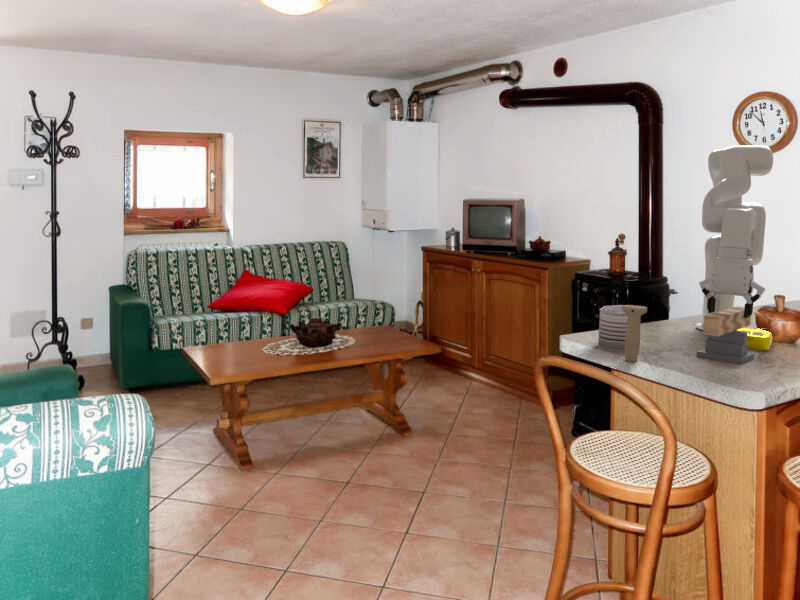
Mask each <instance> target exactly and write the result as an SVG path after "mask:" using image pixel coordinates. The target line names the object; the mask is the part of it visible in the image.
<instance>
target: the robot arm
mask: <svg viewBox="0 0 800 600" xmlns="http://www.w3.org/2000/svg"><path fill="white" fill-rule="evenodd" d="M707 166H708V171H709V175H710V178H711V182H712V184H713V185H712V186H713V187H712V188H710V189H709V191H708V192H706V194H705V196H704V199H703V202H702V209H701V211H702V212H701V225H702V228H703V230H705V232H708V233H713V234H714V233H715V234H717V233H718V234H720V235H714V236H711V237H709V238H708V239H706V241H705V244H704V256H705V257H704V259H705V273H704V274H705V275H704V279H703V280H702V281H699V286H700V289H701V292H702V293H703V300H702V309H701V310H702V311H701V322H698V323H696V324H695V325H696V326H695V328H696V329H698V330H701V331H703V326H704V316H706V315H709V314H713V313H716V312H720V311H723V310H727V309H730V308H734V307H735V299H736V298H735V296H739V297H740V296H741V297H743V299H744V300H745V302H746V303H745V304H744V306H743V307H744V318H748V317H750V315H751V316H752V315H753V312H754V311H753V309H754V303H755V302H757V301H758V300H759V299H761V298H762V296H763V294H764V293H765V292H766V288H765V287H763V286H761V285H760V284H759V283H757V282H756V281H755V280H754V277H755V276H754V274H755V273H754V272H755V271H754V266H757V265H759V264H760V263H761V262H762V259H763V253H764V244H765V234H766V233H765V231H766V224H767V223H766V220H767V211H766V209H765V206H763V205H762V204H760V203H757V202H743V200H742V199H743V196H744V195H746V194H747V193H748V192H749V191H750V189H751V187H752V178H751V177H763V176H766V175H768V174H770V172H771V171H772V169H773V166H774V153H773V150H772V149H771V148H770V147H769V146H768V145H767V146H766V145H733V146H729V147H726V148H722V149H721V148H720V149H715V150H712V151H711V152H710V153H709V155H708V159H707ZM754 290H756V293H755V294H754V295H752V294H753V291H754Z"/></svg>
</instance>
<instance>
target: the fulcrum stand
mask: <svg viewBox="0 0 800 600" xmlns="http://www.w3.org/2000/svg"><path fill="white" fill-rule="evenodd" d="M747 334H748V332H745V331H738V330H735V331H732V332H729V333H727V334H724V335H721V336H711V335H706V336H707V337H706V339H705V345H704V348H702V349H700V350H697V351H696V358H697V357H698V358H701V359H702V358H704V359H709V360H715V361H720V362H727V363H732V364H737V365H743V364H745V363H747V362H749V361H752V360H754V359H755V353H754V352H748V344H747Z"/></svg>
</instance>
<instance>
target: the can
mask: <svg viewBox="0 0 800 600" xmlns="http://www.w3.org/2000/svg"><path fill="white" fill-rule="evenodd" d="M623 305H624V304H614V305H604V306H603V307H601V308H599V309H598V310H599V325H598V326H599V327H598V338H597V341H598V342H597V346H598V347H599V349H602V348H603V349H602V350H605V349H606V351H610V352H624V353H625V335H626V328H627V319H628V316H627V314H626V313H625V312H623V311H622V306H623Z"/></svg>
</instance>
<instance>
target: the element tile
mask: <svg viewBox="0 0 800 600" xmlns="http://www.w3.org/2000/svg"><path fill="white" fill-rule="evenodd" d="M762 329H763V328H761V329H760V328H758V327H751V326H747V327H744V328H741V329H738V331H745V332H748V334H747V344H748V348H747V350H749V349H750V350H759V351H769V350H770V348H771V347H770V346H772V343H773V336H772V333H771V332H769V331H766V330H762Z"/></svg>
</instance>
